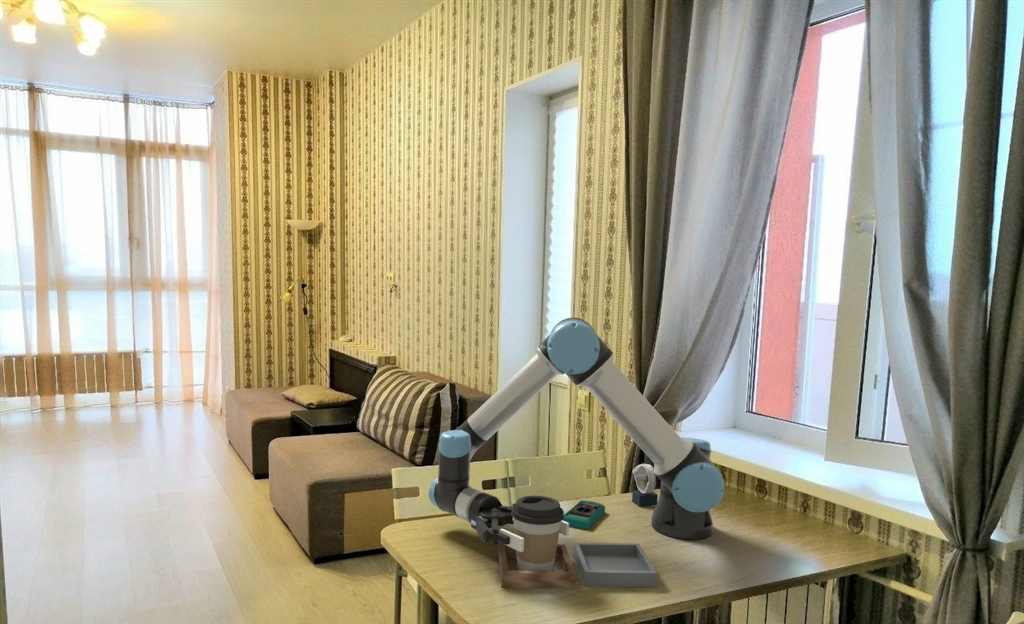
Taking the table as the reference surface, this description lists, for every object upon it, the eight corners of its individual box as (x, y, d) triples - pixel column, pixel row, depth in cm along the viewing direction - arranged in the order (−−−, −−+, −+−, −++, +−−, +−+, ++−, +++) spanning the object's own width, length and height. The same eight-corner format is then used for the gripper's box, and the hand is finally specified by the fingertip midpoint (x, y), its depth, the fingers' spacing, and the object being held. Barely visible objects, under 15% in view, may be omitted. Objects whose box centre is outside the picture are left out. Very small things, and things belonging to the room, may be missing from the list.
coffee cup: (541, 556, 153) (544, 490, 152) (572, 577, 143) (576, 507, 142) (498, 566, 147) (501, 498, 146) (527, 588, 137) (530, 515, 136)
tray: (638, 556, 155) (639, 543, 155) (656, 587, 140) (657, 573, 140) (573, 555, 154) (573, 542, 154) (584, 586, 139) (585, 572, 139)
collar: (564, 557, 153) (565, 544, 153) (574, 588, 138) (575, 574, 138) (498, 556, 152) (499, 543, 152) (501, 587, 137) (502, 573, 137)
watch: (646, 498, 196) (648, 460, 195) (660, 507, 188) (662, 468, 188) (628, 499, 194) (630, 461, 194) (641, 509, 187) (644, 469, 186)
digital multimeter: (605, 513, 183) (606, 503, 183) (587, 531, 170) (588, 520, 170) (580, 508, 186) (580, 498, 186) (560, 526, 173) (560, 514, 173)
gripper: (517, 512, 167) (583, 540, 151) (435, 537, 150) (501, 571, 134) (518, 482, 166) (585, 506, 151) (436, 503, 149) (502, 533, 134)
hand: (545, 537), depth 143 cm, fingers open, 13 cm apart
